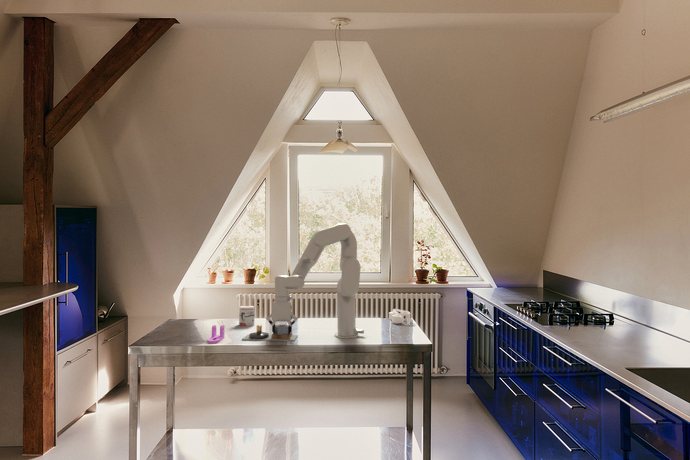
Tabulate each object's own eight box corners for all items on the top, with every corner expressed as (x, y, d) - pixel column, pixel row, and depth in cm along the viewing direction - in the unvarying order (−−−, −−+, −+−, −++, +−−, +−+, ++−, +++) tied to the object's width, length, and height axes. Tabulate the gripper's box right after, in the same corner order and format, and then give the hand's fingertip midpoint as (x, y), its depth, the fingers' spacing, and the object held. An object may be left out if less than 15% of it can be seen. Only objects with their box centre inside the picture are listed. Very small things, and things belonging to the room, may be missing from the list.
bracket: (213, 338, 245) (213, 324, 245) (224, 338, 245) (224, 324, 245) (206, 343, 232) (206, 329, 232) (217, 343, 232) (217, 329, 232)
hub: (270, 335, 248) (270, 323, 248) (266, 339, 238) (266, 327, 238) (252, 334, 249) (252, 323, 249) (247, 338, 239) (247, 327, 239)
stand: (292, 335, 247) (292, 323, 247) (288, 339, 238) (288, 327, 238) (275, 335, 248) (275, 323, 248) (271, 339, 239) (271, 326, 239)
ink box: (239, 327, 271) (239, 307, 271) (239, 326, 276) (239, 306, 276) (254, 327, 273) (254, 306, 273) (253, 325, 278) (254, 305, 278)
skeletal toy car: (387, 320, 295) (387, 308, 296) (404, 320, 296) (404, 308, 296) (393, 326, 275) (393, 314, 276) (412, 326, 276) (412, 314, 276)
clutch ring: (290, 332, 246) (290, 324, 246) (287, 335, 239) (287, 327, 239) (276, 331, 247) (276, 324, 247) (273, 334, 239) (273, 327, 239)
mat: (298, 336, 248) (298, 335, 248) (294, 341, 237) (294, 339, 237) (247, 335, 250) (247, 334, 250) (241, 340, 239) (241, 339, 239)
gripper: (299, 298, 246) (299, 332, 246) (267, 298, 247) (267, 331, 247) (297, 300, 239) (297, 335, 238) (263, 300, 240) (263, 334, 240)
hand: (281, 333), depth 243 cm, fingers closed on clutch ring, stand, 7 cm apart
